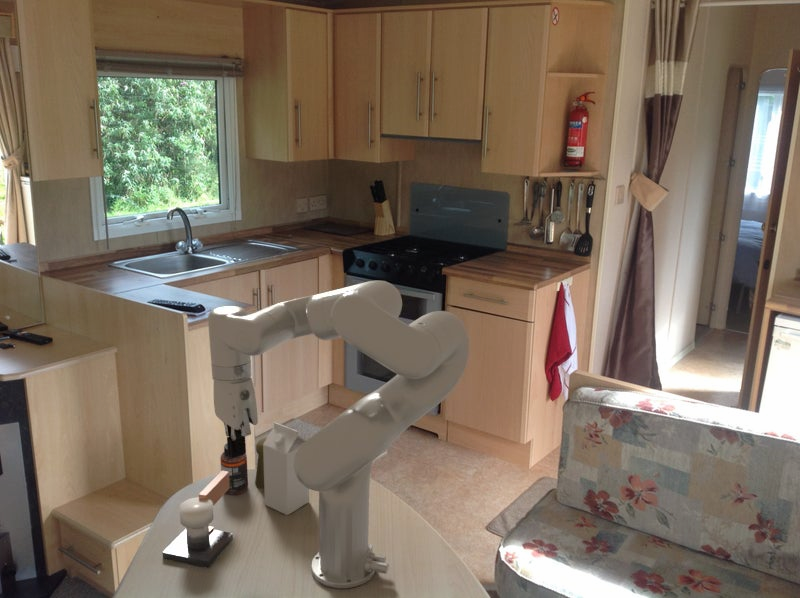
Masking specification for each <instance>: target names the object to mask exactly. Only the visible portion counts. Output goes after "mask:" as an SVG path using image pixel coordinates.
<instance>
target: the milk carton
mask: <svg viewBox="0 0 800 598" xmlns="http://www.w3.org/2000/svg"><path fill="white" fill-rule="evenodd" d="M266 438H267V439H266V441H265V442H264V444H263V457H264V489H263V491H264V505H265V506H267V507H269V508H271V509H273V510H275V511H278V513H279V512H280V513H282V514H284V515H286V516H288V515H291V513H293V512H296V511H297V510H298V509H300V508H301V507H303V506H304V505H307V504H308V503H309V502H310V489H309V488H307V487H305V486H304V485H303V484H302V483H301V482H300V481H299V480H298V478H297V476H296V473H295V469H294V459H295V455H296V452H297V450H298V449H299V447H300V446H301V445H302V444H303V443H304V442H305V441H307V440H306V439H305V438H302V437H301V436H300V435H299V431H298V430H297V429H293V428H291V427H288V426H286V425H283V424H280V423H277V422H275V421H274V422H273V427H272V429H271V431H270V432H269V434H268V436H267V437H266Z"/></svg>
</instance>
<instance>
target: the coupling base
mask: <svg viewBox="0 0 800 598" xmlns="http://www.w3.org/2000/svg"><path fill="white" fill-rule="evenodd" d="M209 524H210V523H209ZM209 524H208V525H206V526H204V527H200V528H187V527H185V529H184V530H183V531H182V532H180V533H179V535H178V536H177V537H176V538H175V539H174V540H173V541H172V542H170V544H169V545H168V546H167V547H166V548H165V549H164V550H163V551H162V559H163V560H166V559H167V561H171V560H172V562H175V563H176V562H177V563H180V562H181V563H182V564H186V565H191V566H196V567H200V568H204V569H209V568H210V567H211V566H212V565H213V564H214V562H215V561H216V560H217V559H218V558H219V557H220V555H221V554H222V553H223V552H224V551H225V549H226V548H227V547H228V546H229V545H230V543H232V541H233V540H234V534H233V533H232V532H228V531H223V530H218V529H215V528H214V526H210V525H209Z"/></svg>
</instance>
